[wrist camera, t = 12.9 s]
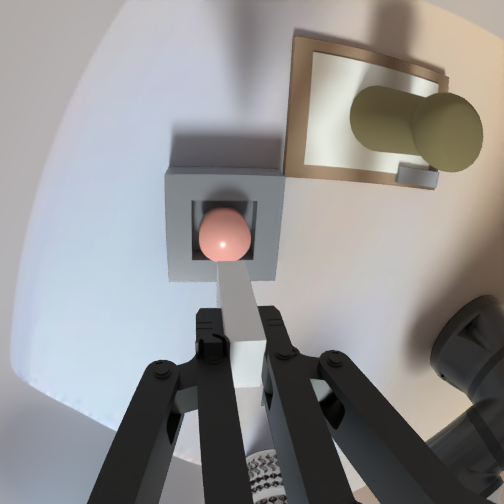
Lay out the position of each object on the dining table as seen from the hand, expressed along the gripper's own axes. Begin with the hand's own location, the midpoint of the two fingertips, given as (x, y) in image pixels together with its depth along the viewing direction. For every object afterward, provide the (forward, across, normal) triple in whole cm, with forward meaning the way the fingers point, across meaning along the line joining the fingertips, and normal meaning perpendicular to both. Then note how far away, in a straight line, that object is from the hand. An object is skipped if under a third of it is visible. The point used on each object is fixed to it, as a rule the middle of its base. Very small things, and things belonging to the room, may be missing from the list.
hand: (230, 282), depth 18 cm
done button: (+9, 0, 0) cm, 9 cm away
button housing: (+11, 0, 0) cm, 11 cm away
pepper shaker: (+10, -13, -10) cm, 19 cm away
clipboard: (+11, -13, -10) cm, 20 cm away
